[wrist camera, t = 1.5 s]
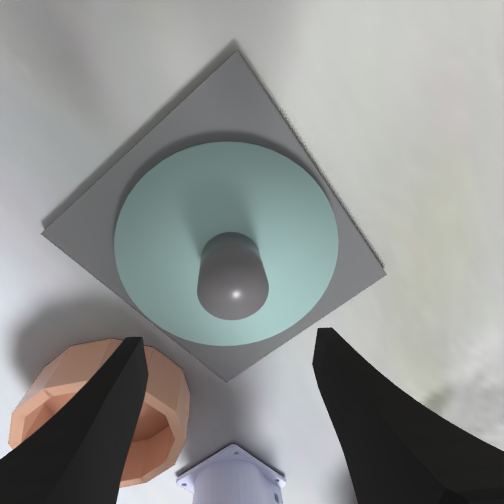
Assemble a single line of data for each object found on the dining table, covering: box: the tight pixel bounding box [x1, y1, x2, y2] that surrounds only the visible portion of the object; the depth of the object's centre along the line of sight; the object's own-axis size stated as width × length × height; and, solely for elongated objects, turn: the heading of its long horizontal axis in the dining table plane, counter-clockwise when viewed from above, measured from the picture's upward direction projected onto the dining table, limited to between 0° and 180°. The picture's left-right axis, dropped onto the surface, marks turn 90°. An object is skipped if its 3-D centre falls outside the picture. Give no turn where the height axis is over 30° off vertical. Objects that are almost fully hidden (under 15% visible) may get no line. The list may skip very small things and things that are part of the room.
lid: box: [114, 141, 338, 346], centre depth 18 cm, size 15×15×5 cm
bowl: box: [8, 338, 191, 488], centre depth 24 cm, size 12×12×4 cm
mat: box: [41, 51, 387, 382], centre depth 21 cm, size 18×16×1 cm
